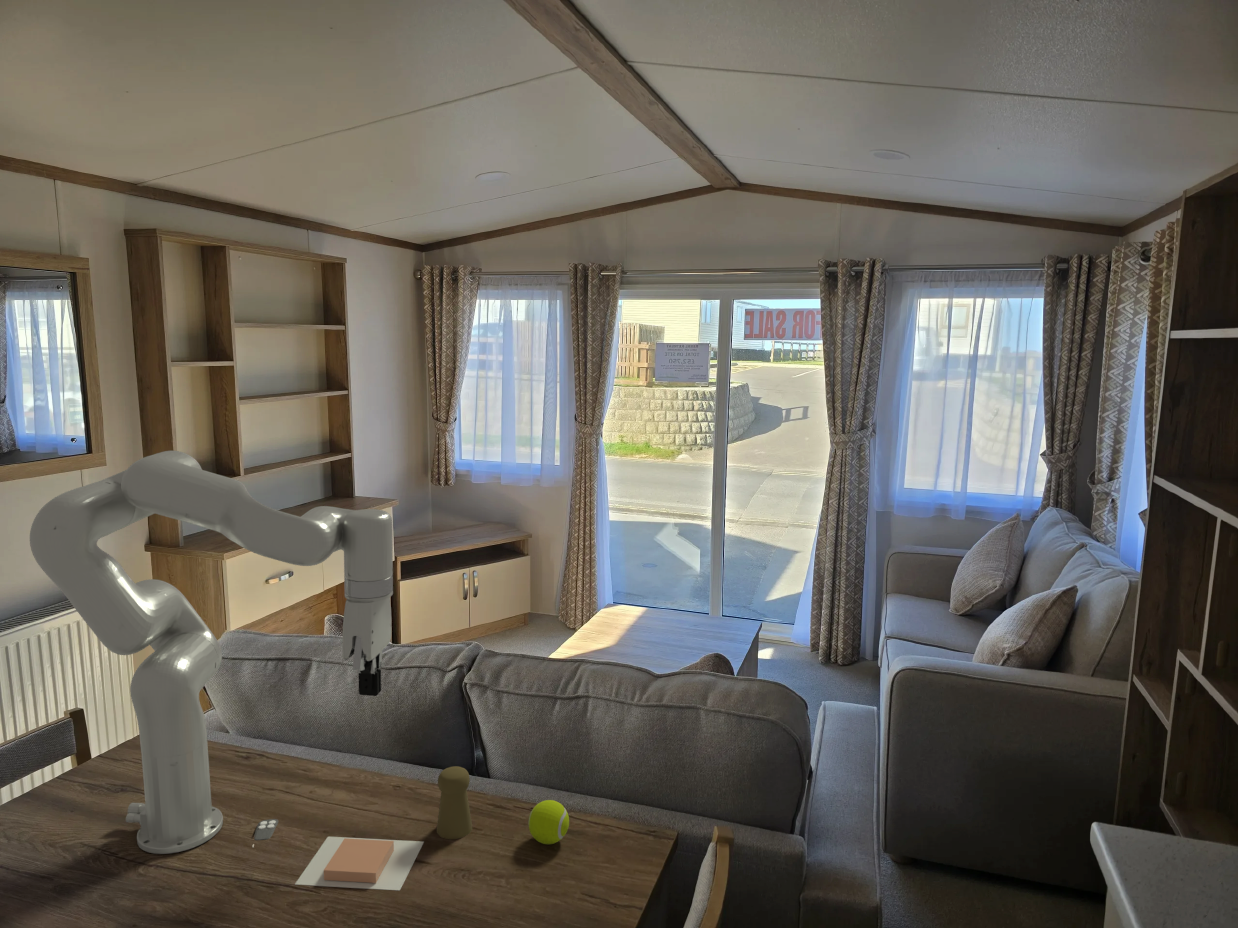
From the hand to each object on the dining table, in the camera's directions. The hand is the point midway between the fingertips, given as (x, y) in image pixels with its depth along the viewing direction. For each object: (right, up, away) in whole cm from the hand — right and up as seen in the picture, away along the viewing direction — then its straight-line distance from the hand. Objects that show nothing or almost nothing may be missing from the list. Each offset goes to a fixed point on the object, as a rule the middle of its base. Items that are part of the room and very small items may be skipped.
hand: (370, 693), depth 137 cm
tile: (+1, -23, -5) cm, 23 cm away
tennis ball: (+30, -24, 0) cm, 38 cm away
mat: (+1, -25, -8) cm, 26 cm away
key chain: (-17, -25, -3) cm, 30 cm away
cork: (+14, -24, +2) cm, 28 cm away
